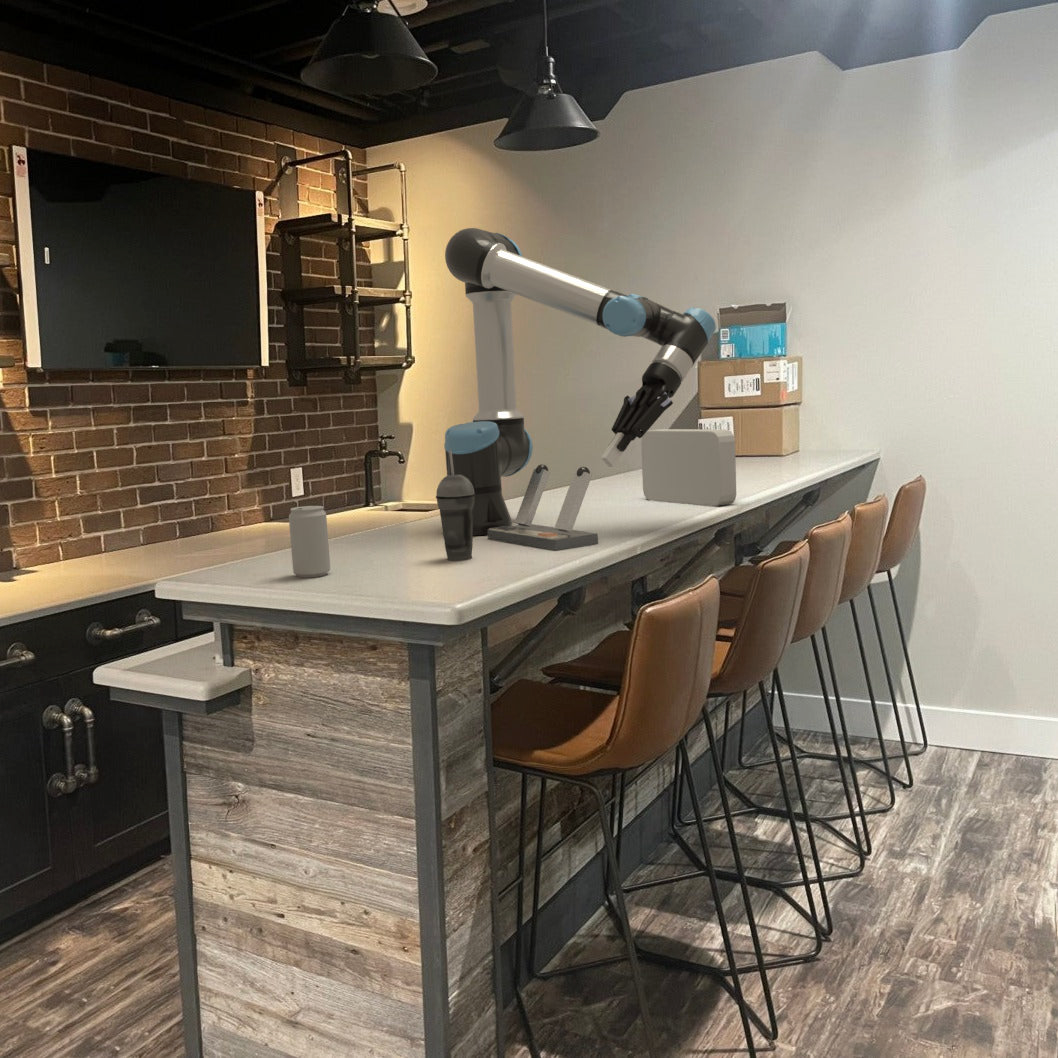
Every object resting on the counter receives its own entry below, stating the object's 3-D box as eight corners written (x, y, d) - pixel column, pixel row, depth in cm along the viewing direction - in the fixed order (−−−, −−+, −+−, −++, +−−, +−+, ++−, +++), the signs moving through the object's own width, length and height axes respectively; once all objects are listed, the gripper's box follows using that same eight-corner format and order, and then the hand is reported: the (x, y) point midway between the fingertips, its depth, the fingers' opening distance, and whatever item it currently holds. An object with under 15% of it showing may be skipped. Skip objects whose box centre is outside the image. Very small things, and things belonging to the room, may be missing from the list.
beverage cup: (449, 563, 185) (441, 452, 182) (433, 558, 192) (426, 450, 189) (485, 558, 188) (479, 448, 186) (469, 553, 195) (462, 447, 192)
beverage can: (296, 573, 184) (290, 506, 182) (332, 570, 184) (327, 503, 183) (291, 579, 177) (285, 510, 176) (329, 577, 178) (323, 508, 176)
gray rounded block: (744, 504, 248) (742, 428, 246) (720, 507, 244) (718, 431, 242) (665, 497, 272) (663, 428, 270) (643, 500, 268) (640, 430, 265)
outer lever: (562, 532, 202) (584, 469, 204) (573, 533, 199) (596, 470, 201) (552, 527, 201) (575, 464, 202) (563, 528, 198) (586, 464, 199)
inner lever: (522, 526, 214) (543, 467, 215) (532, 527, 211) (554, 467, 212) (512, 521, 212) (534, 462, 214) (522, 523, 209) (544, 462, 211)
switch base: (527, 532, 218) (527, 520, 218) (598, 543, 199) (597, 530, 198) (487, 538, 213) (486, 526, 212) (555, 550, 193) (554, 536, 193)
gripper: (698, 384, 207) (639, 475, 200) (655, 386, 218) (598, 473, 211) (677, 358, 204) (616, 450, 197) (634, 362, 214) (575, 449, 207)
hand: (607, 462), depth 204 cm, fingers closed
